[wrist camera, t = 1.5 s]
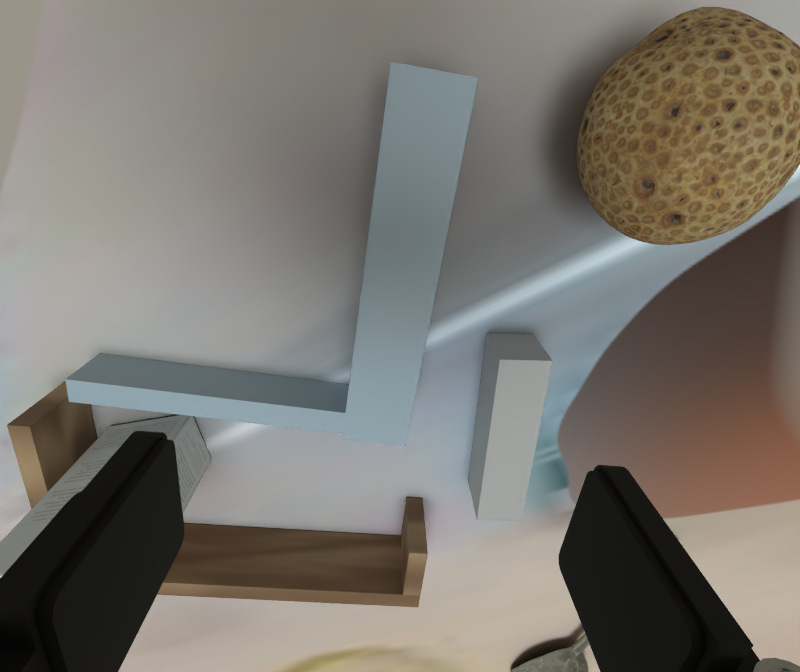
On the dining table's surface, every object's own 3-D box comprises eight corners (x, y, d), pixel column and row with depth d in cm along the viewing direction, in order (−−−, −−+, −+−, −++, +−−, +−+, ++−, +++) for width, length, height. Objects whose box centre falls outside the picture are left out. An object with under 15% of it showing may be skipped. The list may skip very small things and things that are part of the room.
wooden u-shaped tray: (66, 380, 29) (7, 425, 25) (436, 408, 31) (445, 455, 26) (99, 529, 35) (55, 589, 30) (414, 547, 36) (418, 607, 32)
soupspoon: (493, 664, 44) (548, 676, 46) (502, 704, 41) (560, 716, 43) (637, 518, 36) (698, 540, 38) (661, 556, 33) (726, 578, 35)
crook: (61, 19, 22) (-50, -21, 16) (457, 91, 23) (478, 77, 18) (103, 372, 29) (38, 426, 24) (398, 409, 31) (401, 467, 26)
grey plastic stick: (485, 331, 29) (499, 359, 25) (532, 332, 29) (552, 360, 25) (467, 478, 34) (477, 520, 30) (507, 479, 34) (521, 520, 30)
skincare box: (134, 472, 33) (5, 643, 22) (109, 424, 31) (-45, 582, 20) (215, 460, 32) (126, 626, 21) (194, 410, 31) (86, 563, 20)
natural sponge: (576, 17, 22) (708, -68, 13) (742, 56, 23) (977, 3, 14) (522, 205, 26) (595, 244, 16) (667, 234, 26) (815, 285, 17)
